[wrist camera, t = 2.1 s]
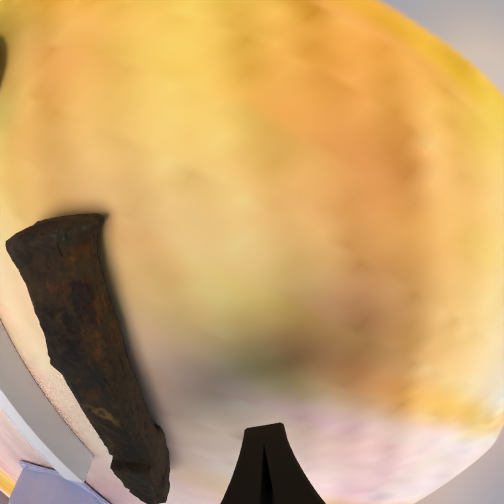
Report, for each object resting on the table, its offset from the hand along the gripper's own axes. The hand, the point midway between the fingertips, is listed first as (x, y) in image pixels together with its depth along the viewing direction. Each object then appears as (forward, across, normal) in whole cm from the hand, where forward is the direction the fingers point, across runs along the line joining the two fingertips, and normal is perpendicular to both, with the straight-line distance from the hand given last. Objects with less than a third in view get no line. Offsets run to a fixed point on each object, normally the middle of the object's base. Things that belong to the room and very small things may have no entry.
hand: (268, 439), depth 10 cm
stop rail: (+5, +16, 0) cm, 17 cm away
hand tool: (+5, +7, 0) cm, 9 cm away
